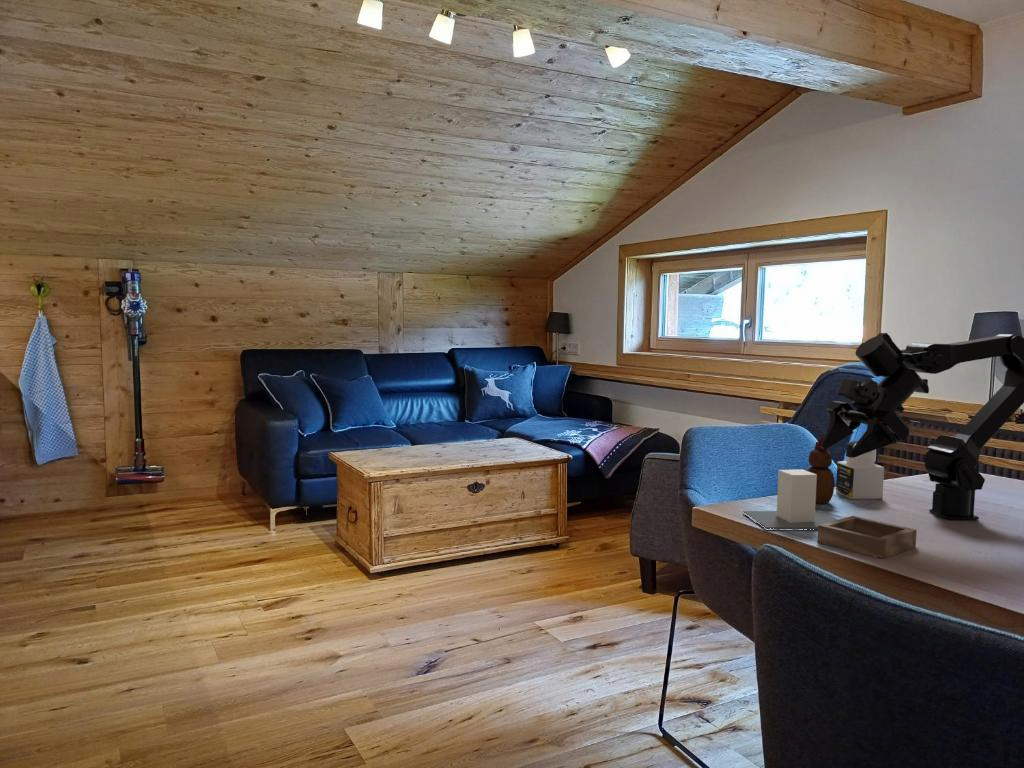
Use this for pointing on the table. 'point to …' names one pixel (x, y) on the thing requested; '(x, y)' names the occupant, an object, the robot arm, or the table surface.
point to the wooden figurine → (822, 472)
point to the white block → (796, 495)
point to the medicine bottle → (860, 475)
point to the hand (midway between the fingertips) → (836, 451)
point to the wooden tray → (867, 536)
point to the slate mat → (773, 521)
